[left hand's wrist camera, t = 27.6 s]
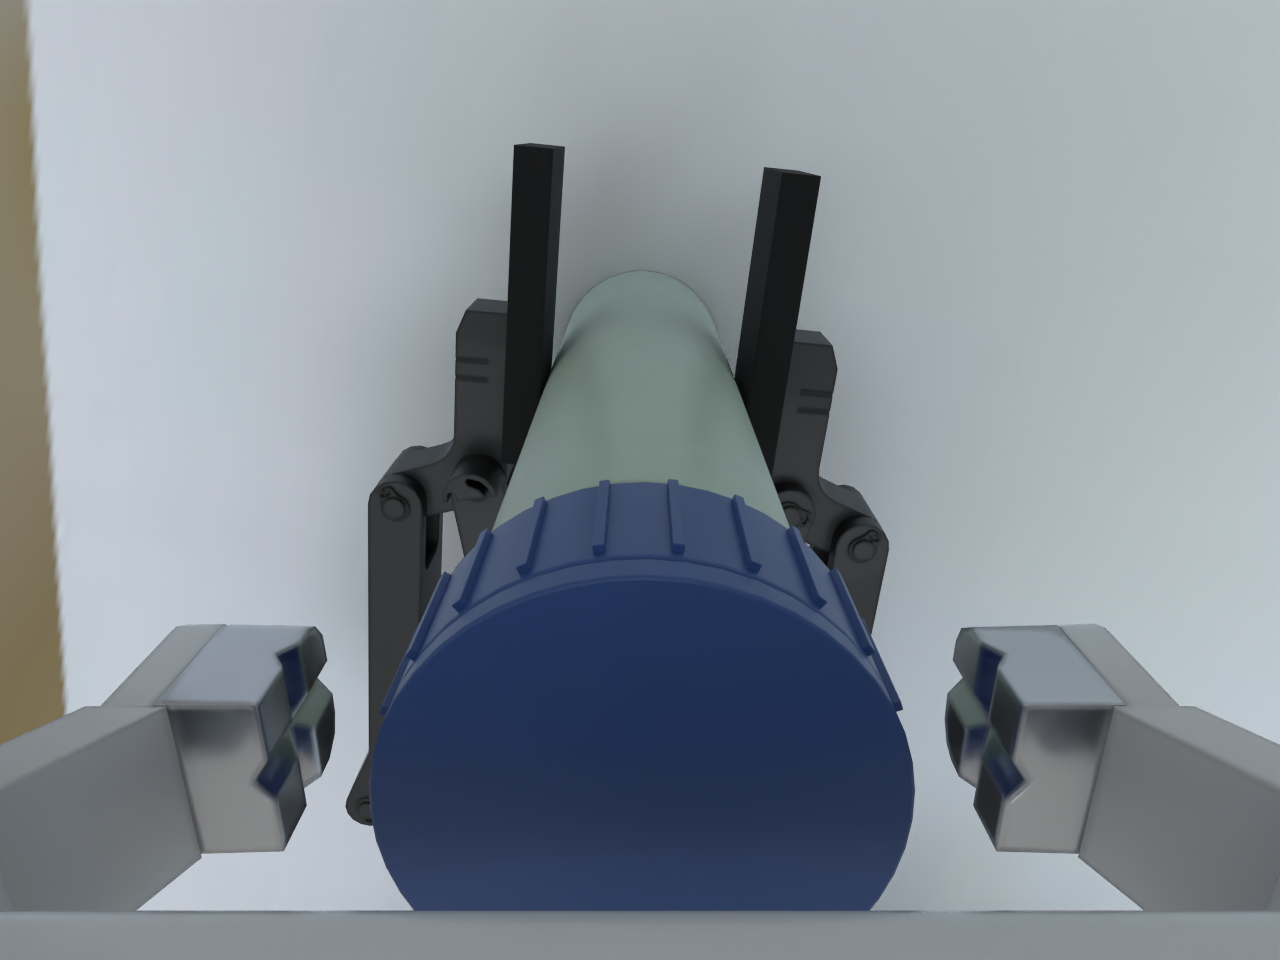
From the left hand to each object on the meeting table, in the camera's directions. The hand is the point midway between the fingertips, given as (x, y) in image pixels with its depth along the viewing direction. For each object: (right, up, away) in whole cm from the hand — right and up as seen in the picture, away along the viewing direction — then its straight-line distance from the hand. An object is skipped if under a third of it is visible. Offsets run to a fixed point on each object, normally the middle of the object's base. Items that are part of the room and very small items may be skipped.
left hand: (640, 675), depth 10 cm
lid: (0, -1, -2) cm, 2 cm away
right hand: (0, +9, +8) cm, 12 cm away
